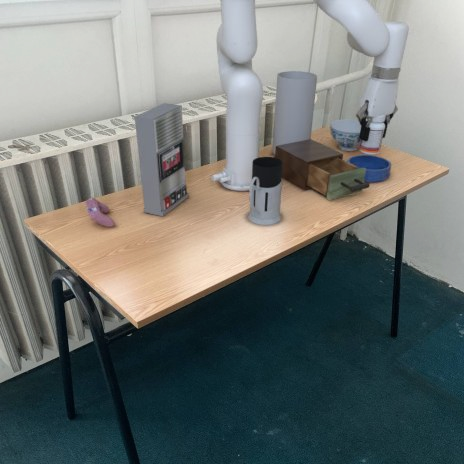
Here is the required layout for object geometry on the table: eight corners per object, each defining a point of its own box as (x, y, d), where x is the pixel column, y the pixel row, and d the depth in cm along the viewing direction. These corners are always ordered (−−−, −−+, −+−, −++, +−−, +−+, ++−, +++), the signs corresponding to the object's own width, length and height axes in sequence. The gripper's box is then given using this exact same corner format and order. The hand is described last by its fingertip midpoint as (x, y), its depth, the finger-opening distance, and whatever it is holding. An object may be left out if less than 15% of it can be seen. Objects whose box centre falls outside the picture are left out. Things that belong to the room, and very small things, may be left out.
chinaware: (353, 158, 164) (356, 135, 160) (318, 147, 173) (321, 125, 168) (378, 148, 173) (382, 126, 168) (344, 138, 181) (347, 116, 177)
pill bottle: (365, 147, 152) (373, 109, 145) (383, 152, 149) (391, 113, 142) (355, 151, 148) (362, 113, 141) (372, 157, 145) (381, 117, 138)
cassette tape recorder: (163, 217, 128) (155, 120, 113) (144, 213, 130) (133, 116, 115) (189, 197, 138) (184, 105, 123) (170, 193, 140) (164, 102, 125)
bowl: (366, 186, 146) (368, 173, 143) (336, 171, 155) (338, 159, 152) (397, 177, 151) (400, 165, 149) (367, 164, 160) (369, 152, 158)
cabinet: (339, 181, 148) (343, 153, 143) (304, 190, 143) (307, 161, 138) (307, 165, 159) (310, 138, 154) (273, 173, 153) (275, 145, 148)
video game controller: (96, 218, 130) (79, 198, 126) (110, 209, 130) (94, 188, 126) (101, 235, 123) (84, 214, 118) (116, 225, 123) (100, 204, 118)
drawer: (375, 198, 137) (379, 174, 133) (341, 207, 132) (345, 183, 128) (329, 174, 150) (332, 153, 146) (297, 182, 145) (299, 160, 141)
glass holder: (286, 214, 130) (290, 159, 121) (265, 237, 120) (268, 179, 111) (256, 207, 133) (258, 153, 124) (233, 229, 123) (234, 172, 114)
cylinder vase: (300, 146, 173) (308, 70, 158) (314, 158, 164) (323, 78, 149) (267, 149, 171) (271, 72, 155) (279, 162, 161) (285, 80, 146)
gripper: (397, 68, 141) (383, 131, 152) (352, 73, 134) (341, 138, 145) (417, 73, 136) (401, 138, 147) (371, 78, 129) (359, 146, 140)
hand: (372, 137), depth 146 cm, fingers closed on pill bottle, 6 cm apart
